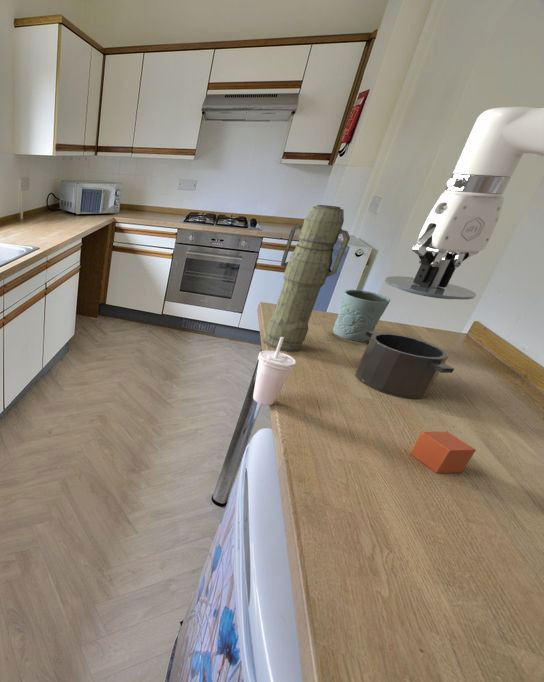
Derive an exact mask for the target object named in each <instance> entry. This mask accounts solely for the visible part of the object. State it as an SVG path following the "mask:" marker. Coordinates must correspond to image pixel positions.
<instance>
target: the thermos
mask: <svg viewBox="0 0 544 682" xmlns="http://www.w3.org/2000/svg"><path fill="white" fill-rule="evenodd" d="M344 220H345V211H344V209H343V208H341V207H340V206H337V205H336V206H335V205H328V204H327V205H326V204H317V205H316V206H312V207H311V209H310V210H309V211H308V213H307V215H306V216H305V218H304V220H303V223H298V224H296V225H295V226H293V227H292V228H291V230H290V232H289V236H288V239H287V242H286V246H285V248H284V251H283V255H282V259H281V262H280V266H281V267H284V274H283V283H282V286H281V290H280V293H279V296H278V298H277V299H278V300H277V302H276V306H275V308H274V312H273V315H272V317H271V318H270V319H269V320H268V323H267V326H266V329H265V335H264V338H263V343H264V344H265V345H266V346H268V347H270V348H272V349H277V346H278V343H279V340H280V337H284V339H283V342H282V345H281V348H280V351H282V352H292V353H295V352H299V351H301V348H302V344H303V343H304V342H305V339H306V337H307V334H308V331H309V321H310V318H311V316H312V313H313V310H314V307H315V304H316V302H317V299H318V296H319V293H320V291H321V288H322V287H323V286H324V285H325V284H326V281H327V278H328V277H331V276H333V275H335V274H336V273H337V272H338V270H339V267H340V264H341V261H342V259H343V256H344V254H345V251H346V249H347V246H348V244H349V242H350V239H351V237H350V234H349V231H347V230H345V229H343V225H344V222H345V221H344ZM297 229H299V230H300V233H299V235H298V242H297V244H296V245H295V248H294V250H293V251H292V253H291V254H290V256H289V255H288V254H289V252H290V248H291V245H292V242H293V239H294V236H295V232H296V231H297ZM340 235H342V238H343V240H342V243H341V245H340V248H339V250H338V253H337V256H336V258H335V262H334V263H333V253H334V247H335V244H336V243H337V241H338V239H339V236H340ZM288 256H289V258H288ZM287 258H288V261H287ZM286 261H287V262H286ZM332 265H333V267H332ZM331 267H332V269H331Z"/></svg>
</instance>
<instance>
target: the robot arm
mask: <svg viewBox="0 0 544 682" xmlns="http://www.w3.org/2000/svg"><path fill="white" fill-rule="evenodd" d="M462 149H463V150H462V151H461V154H460V156H459V157H458V160H457V162H456V165H455V166H454V169H453V171H452V174H451V176H450V178H449V179H448V180H447V182H446V187H445V190H444V191H443V192H442V193H441V194H440V196H439V198H438V199H437V201H436V202H435V204H434V205H433V207H432V209H431V210H430V212H429V214H428V216H427V218H426V220H425V222H424V223H423V226H422V228H421V230H420V232H419V235H418V238H417V242H416V244H414V245H413V247H412V249H411V251H412V252H413V253H415V254H416V255H417V256H418V258H419V260H418V263H419V264H420V265H419V268H418V270H417V272H416V274H415V277H413V278H414V281H413V283H415V284H418V285H421V286H424V287H430V286H431V285H432V283H433V281H434V279H435V277H436V275H437V272H438V270H439V268H440V267H436V266H437V265H438V264H439V262H440V260H441V258H447V259H450V262H449V265H448V267H447V269H446V271H445V273H444V275H443V277H442V279H441V281H440V283H439V285H438V286H439V287H447V285H448V284H450V281H451V279H452V277H453V274H454V273H455V271H456V269H457V268H459V267H460V266H461V265H462V263H463V262H464V261H466V260H467V259H468V258H470V257H473V256H475V255H477V254H479V252H481V251H483V250H484V249H486V247H487V245H488V244H489V241H490V239H491V238H492V235H493V233H494V230H495V228H496V225H497V224H498V221H499V217H500V215H501V212H502V208H503V205H504V202H505V201H504V200H505V196H503V194H504V193H505V191H506V188H507V187H508V185H509V183H510V181H511V179H512V177H513V175H514V173H515V171H516V169H517V167H518V165H519V163H520V161H521V159H522V157H523V155H524V154H531V155H532V156H534V157H537V158H541V159H544V107H539V108H537V107H532V106H500V107H493V108H489V109H485V110H484V111H482V112H481V113H480V114H479V115H478V116H477V118H476V120H475V122H474V124H473V126H472V129H471V131H470V133H469V136H468V137H467V140H466V142H465V144H464V147H463V148H462ZM433 253H434V254H433Z"/></svg>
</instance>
